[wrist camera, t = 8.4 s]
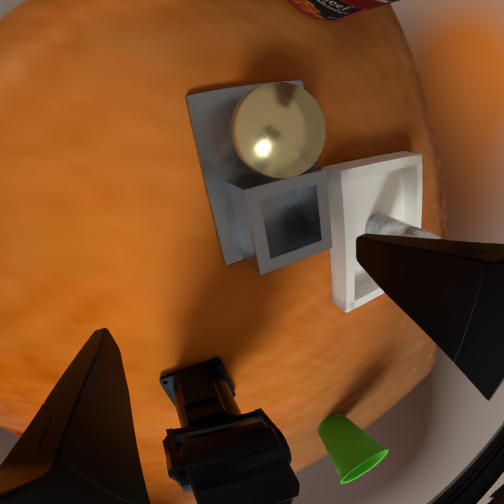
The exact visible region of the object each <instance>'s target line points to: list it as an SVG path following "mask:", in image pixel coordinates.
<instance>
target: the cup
mask: <svg viewBox="0 0 504 504" xmlns="http://www.w3.org/2000/svg"><path fill="white" fill-rule="evenodd" d="M318 430H319V435H320V437H321V439H322V441H323V443H324V445H325V447H326V450H327V452H328V454H329V456H330V458H331V460H332V462H333V464H334V466H335V469H336V471H337V473H338V475H339V477H340V479H341V480H340V483H341V484H345V483H348V482H350V481H352V480H354V479H356V478H358V477H360V476H361V475H363V474H364V473H366V472H368V471H369V470H370V469H372V468H373V467H374V466H375V465H377V464H378V463H379V462H380V461H381V460H382V459H383V458H384V457H385V456H386V455H387V453H388V451H389V450H388V448H384V447H382V446H381V445H380V444H379V443H377V442H376V441H375V440H374V439H372V438H371V437H370V436H368V435H367V434H366V433H365V432H364V431H363V430H361V429H360V428H359V427H358V426H356V425H355V424H354V423H353V422H352V421H350V420H349V419H348V418H347V417H346V416H345V415H342V414H335V415H333V416H331V417H329V418H328V419H326V420H325V421H324V422H323V423H322V424H321V425H320V426H319V428H318Z"/></svg>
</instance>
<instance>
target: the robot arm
mask: <svg viewBox="0 0 504 504" xmlns="http://www.w3.org/2000/svg"><path fill="white" fill-rule="evenodd" d="M356 259H357V262H358V263H359V264H360V266H361V267H362V268H363V269H364V270H365V271H366V272H367V274H368V275H369V276H370V277H371V278H372V279H373V280H374V282H375V283H376V284H377V285H378V286H379V287H380V288H381V289H382V290H383V291H384V292H385V293H386V294H387V295H388V296H389V297H390V298H391V299H392V300H393V301H394V302H395V303H396V304H397V305H398V306H399V307H400V308H401V309H402V310H403V311H404V312H405V313H406V314H407V315H408V316H409V317H410V318H411V319H412V320H413V321H414V322H415V323H416V324H417V325H418V326H419V327H420V328H421V329H422V330H423V331H424V332H425V333H426V334H427V335H428V336H429V337H430V338H431V339H432V340H433V341H434V342H435V343H436V344H437V345H438V346H439V347H440V348H441V349H442V350H443V351H444V352H445V354H447V356H448V357H449V358H450V359H451V360H452V361H453V362H454V363H455V364H456V366H457V367H458V368H459V369H460V370H461V371H462V372H463V373H464V374H465V375H466V377H467V378H468V379H469V380H470V381H471V382H472V383H473V384H474V386H475V387H476V388H477V389H478V390H479V391H480V392H481V394H482V395H483V396H484V397H485V398H486V399H487V400H488V401H489V400H490V399H491V398H492V397H493V395H494V394H495V392H496V391H497V390H498V389H499V387H500V386H501V385H502V383H503V382H504V244H497V243H478V242H465V241H454V240H451V241H449V240H442V239H431V238H420V237H408V236H395V235H382V234H369V233H365V234H362V235H360V236H358V237H357V238H356ZM217 362H218V363H217ZM159 380H160V384H161V386H162V387H163V389H164V390H165V392H166V393H167V395H168V396H169V398H170V399H171V401H172V402H173V404H174V405H175V407H176V410H177V413H178V417H179V421H180V424H181V428H177V429H172V428H171V429H166V432H167V436H166V439H164V440H163V446H164V450H165V454H166V461H167V469H168V474H169V477H170V478H171V479H173V480H175V481H177V482H178V484H179V486H181V487H182V489H183V491H184V493H187V492H193V493H194V496H195V498H196V501H197V504H292V501H293V498H294V497H297V496H298V494H299V481H298V480H297V478H296V476H295V474H294V472H293V470H292V468H291V466H290V463H291V453H290V449H289V446H288V444H287V441H286V439H285V437H284V436H283V434H282V433H281V431H280V430H279V429H278V428H277V427H276V426H275V424H274V423H273V422H272V421H271V420H270V419H269V417H268V416H267V415H266V414H265V413H264V411H263V410H262V409H261V408H260V409H256V410H255V411H252V412H249V413H245V414H241V412H240V410H239V408H238V406H237V403H236V401H235V399H234V397H235V392H234V389H233V387H232V384H231V382H230V379H229V377H228V374H227V372H226V369H225V366H224V364H223V361H222V359H221V358H218V357H217V358H214V359H211V360H209V361H206V362H203V363H200V364H197V365H195V366H192V367H189V368H186V369H183V370H180V371H177V372H174V373H171V374H168V375H165V376H162V377H161V378H160V379H159ZM503 472H504V422H503V424H502V425H501V426H500V428H499V429H498V430H497V432H496V433H495V434H494V436H493V437H492V438H491V439H490V441H489V442H488V443H487V444H486V445H485V447H484V448H483V449H482V450H481V451H480V452H479V454H478V455H477V456H476V457H475V458H474V459H473V460H472V461H471V463H470V464H469V465H468V466H467V467H466V468H465V469H464V470H463V471H462V472H461V473H460V474H459V475H458V476H457V477H456V478H455V479H454V480H453V481H452V482H451V483H450V484H449V485H448V486H447V487H445V489H443V490H442V491H441V492H440V493H439V494H438V495H437V496H436V497H434V498H433V499H432V500H431V501H430V502H429V503H427V504H477V502H478V501H479V500H480V499H481V498H482V497H483V496H484V495H485V494H486V492H487V491H488V490H489V489H490V488H491V486H493V484H494V483H495V482H496V481H497V479H498V478H499V477H500V476H501V474H502V473H503ZM489 498H490V499H491V501H490V502H489V503H488V504H504V484H503V485H502V486H501V487H500V488H499V489H497V490H496V491H495V492H494V493H493V494H492V495H491V496H490V497H489ZM0 504H150V501H149V497H148V493H147V489H146V485H145V481H144V477H143V473H142V468H141V463H140V459H139V454H138V448H137V443H136V437H135V431H134V425H133V418H132V411H131V404H130V396H129V390H128V386H127V381H126V377H125V372H124V368H123V363H122V358H121V353H120V350H119V347H118V346H117V344H116V342H115V340H114V339H113V337H112V335H111V334H110V332H109V330H108V329H107V328H102V329H99V330H96V331H94V333H93V334H92V335H91V337H90V338H89V339H88V341H87V342H86V343H85V345H84V346H83V347H82V349H81V350H80V351H79V353H78V354H77V356H76V357H75V358H74V360H73V361H72V362H71V364H70V365H69V367H68V368H67V369H66V371H65V372H64V374H63V375H62V377H61V378H60V379H59V381H58V382H57V384H56V385H55V387H54V388H53V390H52V391H51V393H50V394H49V396H48V397H47V399H46V400H45V404H43V405H42V406H41V408H40V409H39V411H38V413H37V414H36V415H35V417H34V419H33V420H32V422H31V423H30V424H29V426H28V427H27V429H26V430H25V432H24V433H23V434H22V436H21V437H20V439H19V440H18V441H17V443H16V444H15V446H14V447H13V448H12V450H11V451H10V453H9V454H8V455H7V457H6V459H5V460H4V461H3V463H2V464H1V465H0Z"/></svg>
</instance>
